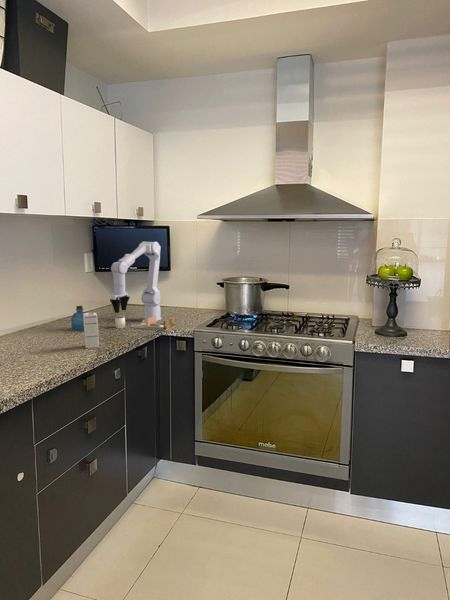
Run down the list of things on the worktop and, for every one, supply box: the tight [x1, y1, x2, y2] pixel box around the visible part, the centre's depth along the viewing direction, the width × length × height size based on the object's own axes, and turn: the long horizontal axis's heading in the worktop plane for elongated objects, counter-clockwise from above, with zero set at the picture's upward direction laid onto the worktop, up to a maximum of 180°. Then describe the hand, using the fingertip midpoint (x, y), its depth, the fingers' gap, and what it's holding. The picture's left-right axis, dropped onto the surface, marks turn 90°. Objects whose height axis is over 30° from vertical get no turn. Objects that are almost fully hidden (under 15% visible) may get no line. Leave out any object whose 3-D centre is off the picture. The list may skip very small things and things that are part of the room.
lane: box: [130, 316, 177, 332], centre depth 238 cm, size 12×20×5 cm, turn 70°
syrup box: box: [83, 312, 100, 349], centre depth 197 cm, size 6×6×14 cm
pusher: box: [146, 316, 161, 327], centre depth 238 cm, size 9×5×4 cm, turn 160°
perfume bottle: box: [70, 305, 87, 332], centre depth 231 cm, size 6×6×12 cm
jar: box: [114, 314, 126, 329], centre depth 237 cm, size 5×5×6 cm
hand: (120, 311), depth 236 cm, fingers open, 7 cm apart
